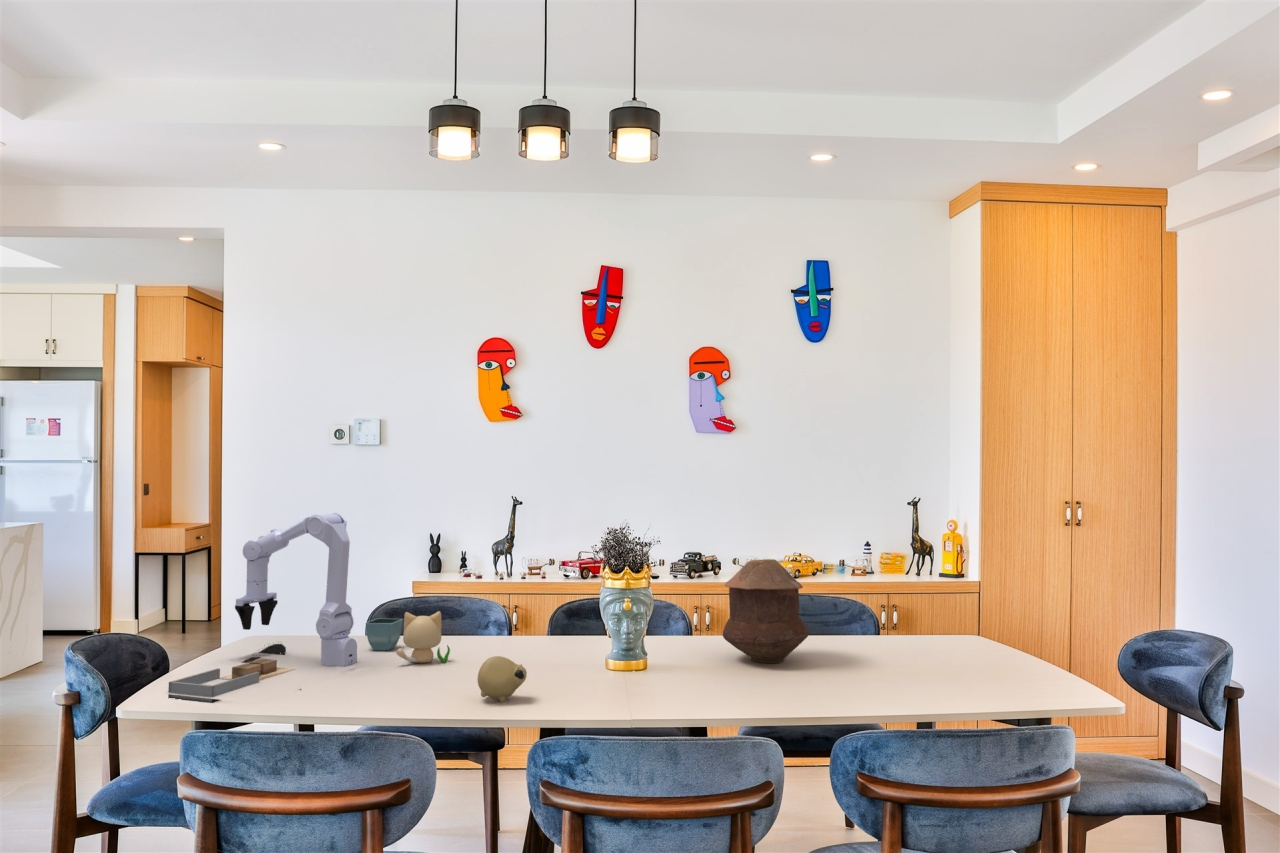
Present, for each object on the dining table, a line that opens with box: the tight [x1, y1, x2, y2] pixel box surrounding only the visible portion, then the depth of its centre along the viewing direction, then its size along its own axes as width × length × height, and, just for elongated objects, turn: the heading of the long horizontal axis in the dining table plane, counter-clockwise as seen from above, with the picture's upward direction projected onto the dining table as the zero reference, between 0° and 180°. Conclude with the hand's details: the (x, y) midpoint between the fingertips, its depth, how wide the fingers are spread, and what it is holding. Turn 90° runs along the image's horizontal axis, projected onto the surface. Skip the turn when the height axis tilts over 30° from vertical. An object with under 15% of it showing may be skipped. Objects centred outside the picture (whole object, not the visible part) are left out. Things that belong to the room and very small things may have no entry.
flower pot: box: [365, 617, 404, 651], centre depth 279 cm, size 9×9×9 cm
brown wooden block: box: [249, 658, 278, 675], centre depth 241 cm, size 5×5×3 cm
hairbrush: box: [240, 641, 287, 664], centre depth 260 cm, size 8×4×25 cm
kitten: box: [396, 610, 451, 664], centre depth 260 cm, size 15×10×15 cm, turn 100°
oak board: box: [221, 667, 296, 682], centre depth 239 cm, size 12×15×2 cm
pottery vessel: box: [722, 558, 810, 664], centre depth 264 cm, size 26×26×30 cm
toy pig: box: [477, 655, 527, 703], centre depth 219 cm, size 10×12×11 cm
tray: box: [167, 667, 260, 704], centre depth 225 cm, size 14×16×4 cm
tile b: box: [231, 663, 261, 679], centre depth 235 cm, size 5×5×3 cm
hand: (256, 627), depth 261 cm, fingers open, 7 cm apart
